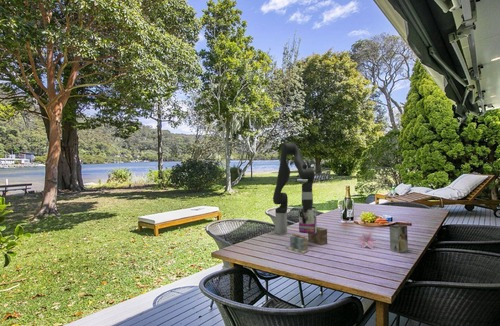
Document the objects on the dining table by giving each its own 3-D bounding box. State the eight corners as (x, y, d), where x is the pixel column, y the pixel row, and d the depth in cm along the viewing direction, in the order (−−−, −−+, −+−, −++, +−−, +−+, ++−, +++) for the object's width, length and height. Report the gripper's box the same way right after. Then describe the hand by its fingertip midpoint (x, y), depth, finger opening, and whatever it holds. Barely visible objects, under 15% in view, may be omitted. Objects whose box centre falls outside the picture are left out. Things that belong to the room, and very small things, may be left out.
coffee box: (398, 248, 186) (398, 223, 186) (408, 250, 181) (407, 225, 181) (389, 250, 182) (389, 225, 182) (398, 253, 176) (398, 227, 176)
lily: (353, 247, 193) (354, 237, 189) (362, 237, 200) (363, 227, 195) (370, 256, 185) (372, 245, 181) (378, 246, 192) (380, 235, 187)
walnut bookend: (308, 241, 202) (307, 227, 202) (313, 239, 205) (313, 226, 205) (321, 245, 192) (321, 230, 192) (327, 243, 196) (327, 229, 196)
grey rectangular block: (286, 248, 190) (285, 234, 190) (312, 241, 207) (312, 228, 207) (303, 253, 178) (302, 238, 178) (329, 245, 195) (329, 231, 195)
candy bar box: (317, 232, 192) (316, 208, 192) (315, 234, 188) (314, 209, 188) (301, 230, 197) (300, 207, 197) (298, 232, 193) (298, 208, 193)
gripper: (309, 196, 200) (310, 220, 200) (295, 198, 191) (296, 223, 191) (318, 197, 194) (318, 222, 194) (304, 199, 185) (304, 225, 185)
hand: (307, 222), depth 193 cm, fingers closed on candy bar box, 6 cm apart
